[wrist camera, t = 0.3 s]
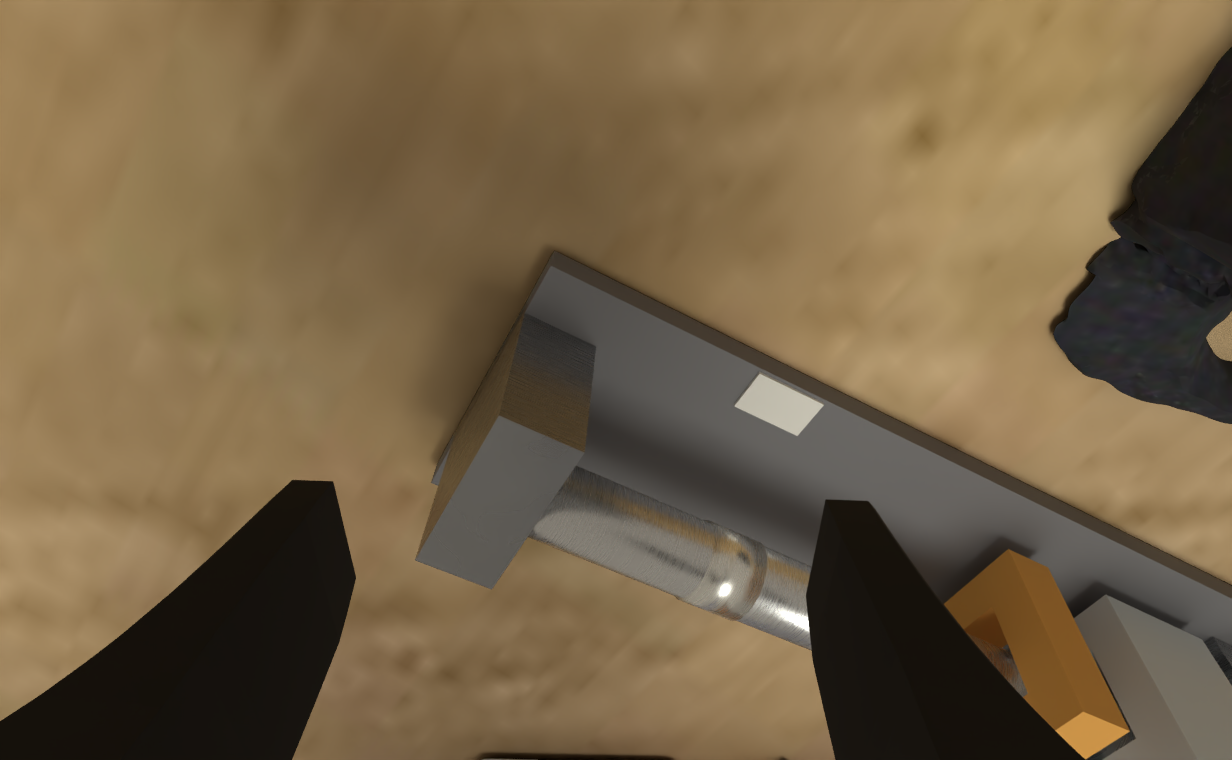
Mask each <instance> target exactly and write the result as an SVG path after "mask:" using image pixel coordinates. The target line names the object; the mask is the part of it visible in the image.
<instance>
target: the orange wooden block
mask: <svg viewBox="0 0 1232 760" xmlns="http://www.w3.org/2000/svg"><path fill="white" fill-rule="evenodd" d="M944 605H945V607H946V608H947V609H948V610H949V612H950V613H951V614H952V615H953V617H954V618H955V619H956V621H957V622H958V623H959V624H960V626H961V627H962V628H963V629H964V631H965V632H966V633H968V634H970V635H972V636H975V637H977V638H979V639H982V640H984V641H986V642H989V643H991V644H993V645H996V646H998V647H1000V648H1003V647H1004V646H1006V645H1007V644H1008V646H1009V648H1010V651H1011V653H1012V656H1013V658H1014V661H1015V663H1016V665H1017V668H1018V670H1019V673H1020V675H1021V678H1022V680H1023V683H1024V685H1025V687H1026V690H1027V692H1028V694H1027V695H1025V696H1024V697H1023V698H1024V699H1025V700H1026V701H1027V702H1028V703H1029V704H1030V705H1031V707H1032V708H1033V709H1034V710H1035V711H1036V712H1037V713H1038V714H1039V715H1040V716H1041V717H1042V718H1043V719H1044V720H1045V721H1046V722H1047V723H1048V724H1049V725H1050V726H1051V727H1052V728H1053V729H1054V730H1055V731H1056V732H1057V733H1058V734H1059V735H1060V736H1061V737H1062V738H1063V739H1064V740H1065V741H1066V742H1067V743H1068V744H1069V745H1071V746H1072V747H1073V748H1074V749H1075V750H1076V751H1077V752H1078V753H1079V754H1080V755H1081V756H1082V757H1083V758H1084V759H1087V758H1089V757H1090V756H1092V755H1093V754H1095V753H1097V752H1098V751H1100V750H1101V749H1103V748H1104V747H1106V746H1108V745H1109V744H1111V743H1112V742H1114V741H1116V740H1117V739H1119V738H1120V737H1122V736H1124V735H1125V734H1127V733H1128V732H1130V730H1129V728H1128V726H1127V724H1126V722H1125V720H1124V718H1123V716H1122V714H1121V712H1120V710H1119V708H1118V706H1117V704H1116V702H1115V700H1114V698H1113V696H1112V694H1111V692H1110V690H1109V688H1108V686H1107V684H1106V682H1105V680H1104V678H1103V676H1102V674H1101V672H1100V670H1099V668H1098V666H1097V664H1096V662H1095V660H1094V658H1093V656H1092V654H1091V652H1090V650H1089V648H1088V646H1087V644H1086V642H1085V640H1084V638H1083V636H1082V634H1081V632H1080V630H1079V628H1078V626H1077V624H1076V622H1075V620H1074V618H1073V616H1072V614H1071V612H1070V610H1069V608H1068V606H1067V604H1066V602H1065V600H1064V598H1063V596H1062V594H1061V592H1060V590H1059V588H1058V586H1057V584H1056V582H1055V580H1054V578H1053V576H1052V574H1051V572H1050V570H1049V568H1048V567H1046V566H1044V565H1042V564H1039V563H1037V562H1035V561H1033V560H1031V559H1029V558H1027V557H1024V556H1022V555H1020V554H1018V553H1016V552H1014V551H1012V550H1009V549H1008V550H1006V551H1005V552H1004V553H1003V554H1002V555H1001V556H999V557H998V558H997V559H996V560H995V561H994V562H992V563H991V564H990V565H989V566H988V567H987V568H985V569H984V570H983V571H982V572H981V573H979V574H978V575H977V576H976V577H975V578H974V579H972V580H971V581H970V582H969V583H968V584H967V585H965V586H964V587H963V588H962V589H961V590H960V591H958V592H957V593H956V594H955V595H954V596H953V597H951V598H950V599H949V600H948V601H947V602H945V603H944Z"/></svg>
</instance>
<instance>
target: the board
mask: <svg viewBox="0 0 1232 760" xmlns="http://www.w3.org/2000/svg"><path fill="white" fill-rule="evenodd" d="M525 307H526V310H525V313H526V314H528V315H530V316H532V317H535V318H537V319H539V320H541V321H543V322H545V323H547V324H549V325H552V326H554V327H556V328H558V329H560V330H562V331H564V332H566V333H569V334H571V335H573V336H575V337H577V338H579V339H581V340H583V341H586V342H588V343H590V344H592V345H594V346H596V353H595V362H594V372H593V381H592V390H591V399H590V408H589V417H588V426H587V435H586V444H585V453H584V454H583V456H582V457H581V459H580V460H579V462H578V463H577V465H576V466H579V467H581V468H583V469H586V470H588V471H590V472H593V473H595V474H597V475H600V476H602V477H604V478H607V479H609V480H611V481H614V482H616V483H618V484H621V485H623V486H625V487H628V488H630V489H632V490H635V491H637V492H639V493H642V494H644V495H646V496H649V497H651V498H653V499H656V500H658V501H660V502H663V503H665V504H667V505H670V506H672V507H674V508H677V509H679V510H681V511H684V512H686V513H688V514H691V515H693V516H695V517H698V518H700V519H702V520H710V521H712V522H714V523H717V524H719V525H721V526H724V527H726V528H728V529H731V530H733V531H735V532H738V533H740V534H742V535H744V536H747V537H749V538H751V539H754V540H756V541H758V542H760V543H762V544H763V545H764V546H765V547H767V548H770V549H772V550H774V551H777V552H779V553H781V554H784V555H786V556H788V557H791V558H793V559H795V560H798V561H800V562H802V563H805V564H807V565H809V566H812V563H813V558H814V553H815V548H816V543H817V538H818V534H819V529H820V524H821V519H822V514H823V509H824V505H825V500H826V499H831V500H858V501H869V502H870V503H871V505H872V506H873V507H874V508H875V509H876V511H877V512H878V514H879V515H880V517H881V518H882V520H883V521H884V523H885V524H886V526H887V527H888V529H889V530H890V532H891V533H892V534H893V536H894V537H895V539H896V540H897V542H898V543H899V545H900V546H901V547H902V549H903V550H904V552H905V553H906V554H907V556H908V557H909V559H910V560H911V561H912V563H913V564H914V566H915V567H916V568H917V570H918V571H919V572H920V574H921V575H922V577H923V578H924V579H925V581H926V582H927V583H928V585H929V586H930V587H931V589H932V590H933V591H934V593H935V594H936V595H937V596H938V598H939V599H940V600H941V601H942V603H943V604H944V603H945V602H947V601H948V600H949V599H950V598H951V597H953V596H954V595H955V594H956V593H957V592H958V591H960V590H961V589H962V588H963V587H964V586H965V585H967V584H968V583H969V582H970V581H971V580H972V579H974V578H975V577H976V576H977V575H978V574H979V573H981V572H982V571H983V570H984V569H985V568H987V567H988V566H989V565H990V564H991V563H992V562H994V561H995V560H996V559H997V558H998V557H999V556H1001V555H1002V554H1003V553H1004V552H1005V551H1006V550H1008V549H1009V550H1012V551H1014V552H1016V553H1018V554H1020V555H1022V556H1024V557H1027V558H1029V559H1031V560H1033V561H1035V562H1037V563H1039V564H1042V565H1044V566H1046V567H1048V568H1049V570H1050V572H1051V574H1052V576H1053V578H1054V580H1055V582H1056V584H1057V586H1058V588H1059V590H1060V592H1061V594H1062V596H1063V598H1064V600H1065V602H1066V604H1067V606H1068V608H1069V610H1070V612H1071V614H1072V616H1073V618H1075V617H1076V616H1078V615H1079V614H1080V613H1082V612H1083V611H1084V610H1086V609H1087V608H1088V607H1090V606H1091V605H1092V604H1094V603H1095V602H1096V601H1098V600H1099V599H1100V598H1102V597H1103V596H1104V595H1108V596H1110V597H1112V598H1114V599H1117V600H1119V601H1121V602H1123V603H1125V604H1127V605H1129V606H1131V607H1134V608H1136V609H1138V610H1140V611H1142V612H1144V613H1146V614H1149V615H1151V616H1153V617H1155V618H1157V619H1159V620H1161V621H1164V622H1166V623H1168V624H1170V625H1172V626H1174V627H1176V628H1179V629H1181V630H1183V631H1185V632H1187V633H1189V634H1191V635H1194V636H1196V637H1198V638H1200V639H1202V640H1203V642H1204V641H1206V640H1207V639H1209V638H1210V637H1212V636H1213V637H1215V638H1217V639H1219V640H1221V641H1223V642H1226V643H1228V644H1230V645H1232V586H1231V585H1229V584H1227V583H1225V582H1223V581H1221V580H1219V579H1217V578H1215V577H1213V576H1211V575H1209V574H1207V573H1205V572H1203V571H1201V570H1199V569H1197V568H1195V567H1193V566H1191V565H1189V564H1187V563H1185V562H1183V561H1181V560H1179V559H1177V558H1175V557H1173V556H1171V555H1169V554H1167V553H1165V552H1163V551H1161V550H1159V549H1157V548H1154V547H1152V546H1150V545H1148V544H1146V543H1144V542H1142V541H1140V540H1138V539H1136V538H1134V537H1132V536H1130V535H1128V534H1126V533H1124V532H1122V531H1120V530H1118V529H1116V528H1114V527H1112V526H1110V525H1108V524H1106V523H1104V522H1102V521H1100V520H1098V519H1096V518H1094V517H1092V516H1090V515H1088V514H1086V513H1084V512H1082V511H1080V510H1078V509H1076V508H1074V507H1072V506H1070V505H1068V504H1066V503H1063V502H1061V501H1059V500H1057V499H1055V498H1053V497H1051V496H1049V495H1047V494H1045V493H1043V492H1041V491H1039V490H1037V489H1035V488H1033V487H1031V486H1029V485H1027V484H1025V483H1023V482H1021V481H1019V480H1017V479H1015V478H1013V477H1011V476H1009V475H1007V474H1005V473H1003V472H1001V471H999V470H997V469H995V468H993V467H991V466H989V465H987V464H985V463H983V462H981V461H979V460H977V459H975V458H972V457H970V456H968V455H966V454H964V453H962V452H960V451H958V450H956V449H954V448H952V447H950V446H948V445H946V444H944V443H942V442H940V441H938V440H936V439H934V438H932V437H930V436H928V435H926V434H924V433H922V432H920V431H918V430H916V429H914V428H912V427H910V426H908V425H906V424H904V423H902V422H900V421H898V420H896V419H894V418H892V417H890V416H888V415H886V414H884V413H881V412H879V411H877V410H875V409H873V408H871V407H869V406H867V405H865V404H863V403H861V402H859V401H857V400H855V399H853V398H851V397H849V396H847V395H845V394H843V393H841V392H839V391H837V390H835V389H833V388H831V387H829V386H827V385H825V384H823V383H821V382H819V381H817V380H815V379H813V378H811V377H809V376H807V375H805V374H803V373H801V372H799V371H797V370H795V369H793V368H790V367H788V366H786V365H784V364H782V363H780V362H778V361H776V360H774V359H772V358H770V357H768V356H766V355H764V354H762V353H760V352H758V351H756V350H754V349H752V348H750V347H748V346H746V345H744V344H742V343H740V342H738V341H736V340H734V339H732V338H730V337H728V336H726V335H724V334H722V333H720V332H718V331H716V330H714V329H712V328H710V327H708V326H706V325H704V324H702V323H699V322H697V321H695V320H693V319H691V318H689V317H687V316H685V315H683V314H681V313H679V312H677V311H675V310H673V309H671V308H669V307H667V306H665V305H663V304H661V303H659V302H657V301H655V300H653V299H651V298H649V297H647V296H645V295H643V294H641V293H639V292H637V291H635V290H633V289H631V288H629V287H627V286H625V285H623V284H621V283H619V282H617V281H615V280H613V279H611V278H608V277H606V276H604V275H602V274H600V273H598V272H596V271H594V270H592V269H590V268H588V267H586V266H584V265H582V264H580V263H578V262H576V261H574V260H572V259H570V258H568V257H566V256H564V255H562V254H560V253H558V252H556V251H554V252H553V254H552V256H551V258H550V259H549V261H548V263H547V265H546V267H545V269H544V270H543V272H542V274H541V276H540V278H539V279H538V281H537V283H536V285H535V287H534V289H533V290H532V292H531V294H530V296H529V298H528V300H527V301H526V303H525V305H524V307H523V309H522V310H521V312H520V314H519V316H518V318H517V320H516V321H515V323H514V325H513V327H512V329H513V328H514V326H515V324H516V322H517V321H518V319H519V317H520V316H521V314H522V312H523V311H524V308H525ZM512 329H511V331H512ZM511 331H510V332H509V334H508V336H507V338H508V337H509V335H510V333H511ZM507 338H506V340H507ZM506 340H505V341H504V343H505V342H506ZM504 343H503V345H504ZM503 345H502V347H503ZM502 347H501V349H502ZM501 349H500V351H501ZM500 351H499V352H500ZM499 352H498V354H499ZM498 354H497V356H498ZM497 356H496V357H497ZM495 359H496V358H495ZM494 361H495V360H494ZM494 361H493V363H494ZM493 363H492V364H493ZM491 366H492V365H491ZM490 368H491V367H490ZM489 370H490V369H489ZM487 373H488V372H487ZM454 434H455V433H454ZM454 434H453V436H452V438H451V440H450V442H449V444H448V445H447V447H446V449H445V451H444V453H443V454H442V456H441V458H440V460H439V462H438V464H437V466H436V469H435V472H434V475H433V478H432V481H431V483H433V484H435V485H439V482H440V479H441V476H442V473H443V470H444V466H445V463H446V460H447V457H448V454H449V450H450V447H451V444H452V441H453V438H454ZM1003 649H1005V650H1007V651H1010V648H1009V646H1008V644H1007V645H1006V646H1004V647H1003ZM1010 652H1011V651H1010Z"/></svg>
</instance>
